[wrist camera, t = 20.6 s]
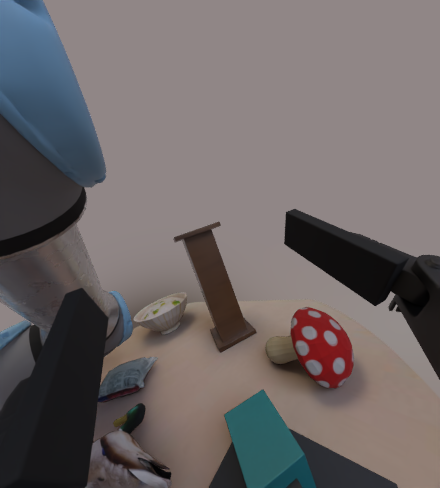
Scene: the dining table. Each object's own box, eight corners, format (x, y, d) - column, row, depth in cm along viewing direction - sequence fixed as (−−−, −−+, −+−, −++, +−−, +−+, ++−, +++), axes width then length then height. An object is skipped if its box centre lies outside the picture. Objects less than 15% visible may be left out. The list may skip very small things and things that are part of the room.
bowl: (186, 308, 77) (178, 287, 76) (204, 320, 60) (193, 293, 59) (140, 334, 68) (130, 310, 67) (146, 357, 51) (133, 325, 50)
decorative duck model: (116, 390, 32) (191, 369, 30) (131, 430, 32) (207, 412, 30) (4, 521, 17) (136, 499, 15) (31, 597, 17) (168, 587, 15)
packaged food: (119, 376, 46) (111, 360, 46) (160, 363, 46) (153, 346, 45) (94, 411, 38) (85, 391, 37) (145, 396, 37) (136, 376, 36)
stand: (209, 332, 52) (173, 239, 50) (242, 315, 55) (209, 226, 52) (218, 355, 41) (173, 237, 39) (259, 332, 44) (219, 221, 42)
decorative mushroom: (242, 321, 35) (308, 297, 25) (278, 321, 41) (344, 301, 31) (254, 393, 29) (348, 399, 19) (296, 381, 35) (384, 380, 25)
